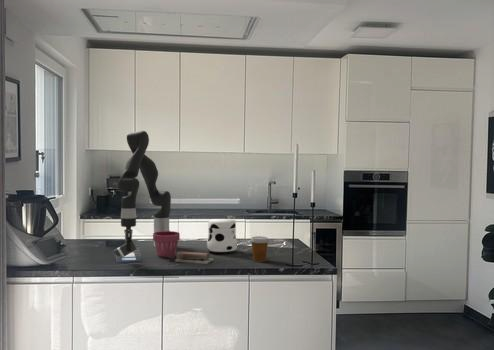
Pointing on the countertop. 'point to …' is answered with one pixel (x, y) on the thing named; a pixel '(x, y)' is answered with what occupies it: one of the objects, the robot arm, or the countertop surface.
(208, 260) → the packaged product
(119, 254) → the charcoal rectangular prism
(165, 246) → the plant pot
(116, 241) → the countertop surface
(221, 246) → the milk container
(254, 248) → the disposable coffee cup
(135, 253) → the white pegged board
